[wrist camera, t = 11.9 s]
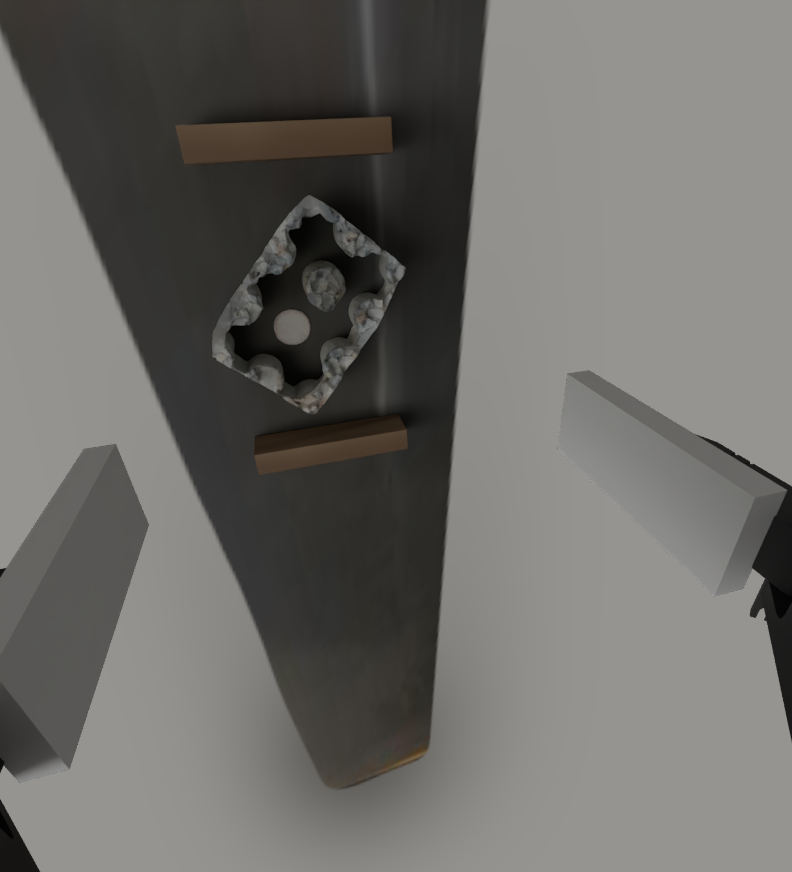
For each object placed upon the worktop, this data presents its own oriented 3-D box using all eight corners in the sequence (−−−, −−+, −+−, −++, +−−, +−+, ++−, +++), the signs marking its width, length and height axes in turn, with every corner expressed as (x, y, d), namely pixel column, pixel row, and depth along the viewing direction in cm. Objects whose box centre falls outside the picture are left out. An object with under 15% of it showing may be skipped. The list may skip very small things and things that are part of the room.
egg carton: (306, 399, 32) (311, 427, 28) (202, 335, 28) (193, 358, 25) (404, 269, 29) (424, 281, 26) (304, 181, 26) (310, 182, 22)
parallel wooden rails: (183, 130, 23) (175, 125, 21) (380, 121, 25) (390, 116, 23) (259, 455, 33) (259, 474, 30) (398, 432, 34) (407, 448, 32)
